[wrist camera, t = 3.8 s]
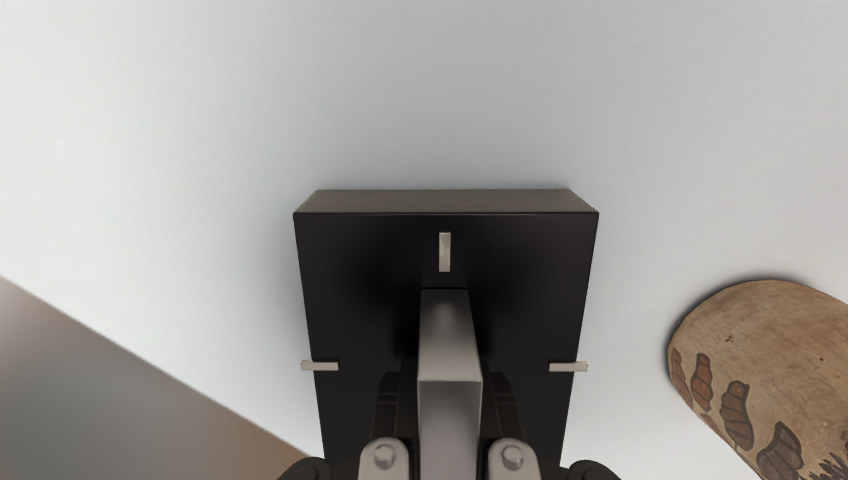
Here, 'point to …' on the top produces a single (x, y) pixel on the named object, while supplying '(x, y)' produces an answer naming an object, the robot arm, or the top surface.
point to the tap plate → (443, 269)
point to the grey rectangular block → (448, 387)
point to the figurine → (769, 376)
